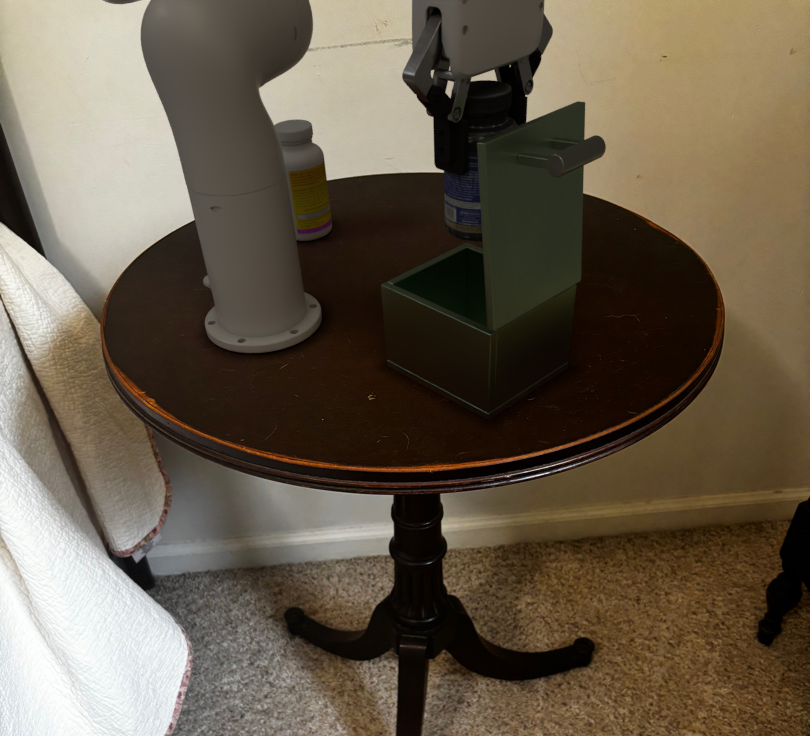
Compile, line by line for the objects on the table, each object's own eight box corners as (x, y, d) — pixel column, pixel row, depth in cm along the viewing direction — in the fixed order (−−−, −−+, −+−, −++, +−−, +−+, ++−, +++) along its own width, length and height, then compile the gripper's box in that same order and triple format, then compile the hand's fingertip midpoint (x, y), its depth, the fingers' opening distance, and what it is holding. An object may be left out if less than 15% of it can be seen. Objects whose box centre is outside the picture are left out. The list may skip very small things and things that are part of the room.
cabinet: (386, 366, 80) (380, 284, 74) (466, 321, 85) (466, 241, 79) (488, 421, 73) (490, 334, 66) (568, 368, 78) (577, 284, 72)
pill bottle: (511, 245, 67) (517, 101, 59) (439, 243, 68) (435, 100, 60) (518, 215, 71) (524, 76, 63) (450, 213, 72) (448, 76, 64)
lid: (476, 142, 57) (533, 150, 54) (577, 100, 62) (634, 106, 59) (487, 328, 66) (535, 345, 63) (574, 278, 72) (623, 291, 69)
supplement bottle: (343, 226, 104) (331, 120, 95) (312, 247, 100) (297, 138, 91) (302, 217, 107) (287, 113, 98) (271, 236, 103) (252, 130, 94)
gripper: (524, -142, 59) (514, 121, 71) (348, -111, 51) (371, 179, 63) (609, -140, 55) (582, 138, 67) (432, -106, 47) (439, 203, 59)
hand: (480, 156), depth 65 cm, fingers closed on pill bottle, 6 cm apart
